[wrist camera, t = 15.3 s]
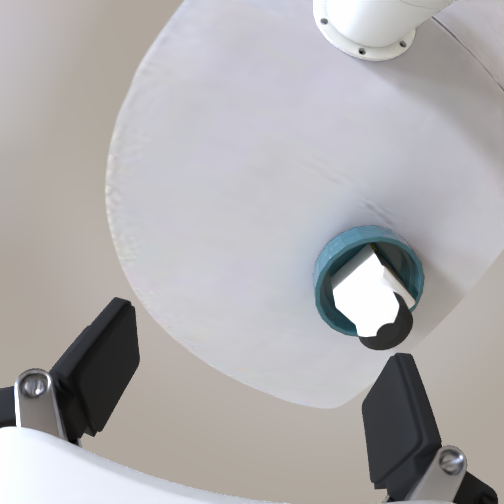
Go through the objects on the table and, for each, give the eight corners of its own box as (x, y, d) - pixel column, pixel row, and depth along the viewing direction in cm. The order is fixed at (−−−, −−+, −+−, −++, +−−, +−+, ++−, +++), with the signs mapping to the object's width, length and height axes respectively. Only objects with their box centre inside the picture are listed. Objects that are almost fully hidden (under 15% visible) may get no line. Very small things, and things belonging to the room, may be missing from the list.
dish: (327, 213, 36) (332, 225, 32) (426, 237, 36) (439, 250, 31) (302, 308, 42) (302, 328, 38) (391, 323, 41) (398, 342, 37)
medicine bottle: (400, 275, 38) (431, 329, 27) (361, 307, 40) (379, 367, 29) (369, 240, 36) (396, 289, 25) (328, 277, 39) (339, 335, 28)
